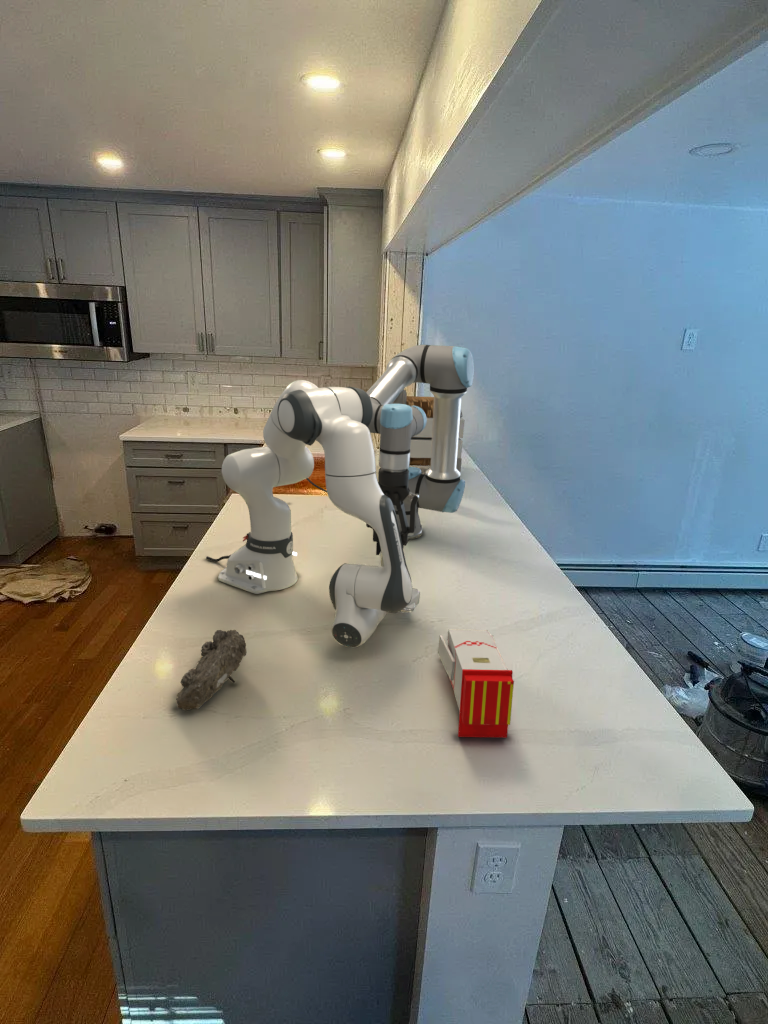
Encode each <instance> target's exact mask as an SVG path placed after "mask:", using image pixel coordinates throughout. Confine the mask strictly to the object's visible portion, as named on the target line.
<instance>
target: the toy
mask: <svg viewBox="0 0 768 1024" xmlns="http://www.w3.org/2000/svg"><path fill="white" fill-rule="evenodd" d="M446 640H447V643H446V641H445V639H444V636H443V635H442V634H439V637H438V646H437V656H438V657H439V659H440V661H441V663H442V666H443V668H444V670H445V672H446V674H447V677H448V679H449V681H450V684H451V687H452V690H453V693H454V697H455V701H456V705H457V708H458V711H459V714H458V715H459V716H458V730H457V731H458V732H457V737H458V738H508V731H509V726H510V725H511V717H512V707H513V697H514V696H513V695H514V684H515V680H514V679H513V673H514V671H513V670H512V669H508V667H507V665H506V662H505V661H504V659H503V658H502V655H501V653H500V651H499V649H498V647H497V643H496V639H495V637H494V635H493V634H491V632H490V631H489V629H467V628H466V629H465V628H463V629H461V628H460V629H459V628H448V630H447V639H446Z"/></svg>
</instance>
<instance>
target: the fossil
mask: <svg viewBox="0 0 768 1024" xmlns="http://www.w3.org/2000/svg"><path fill="white" fill-rule="evenodd" d="M200 655H201V657H200V658H199V660H198V662H197V664H196V666H195V668H191V669H189V670H188V671H187V672H185V673H184V675H183V676H182V677H181V678H180V681H179V682H180V684H181V686H182V689H181V690H180V692H178V693H177V694H176V696H177V698H175V700H176V706H177V708H178V709H181V710H183V711H189V710H195V709H200V708H201V707H202V706H203V705H204V704H205V703H206V702H207V701H208V700H210V699H211V698H212V697H213V696H214V695H215V694H216V693H217V692H218V691H219V690H221V689H222V687H223V685H224V683H225V682H226V681H228V680H230V681H231V683H232V684H235V683H236V680H235V679H234V678H233V677H232V676H231V675H232V673H233V672H235V671H237V670H238V668H239V666H240V665H241V662H242V661H243V659H244V657H245V656H247V642H246V639H245V637H244V635H242V634H240V633H239V631H238V630H237V629H230V630H222V629H217V630H216V631H214V634H213V635H212V641H211V640H208V641H206V642H204V643H203V644H202V646H201V649H200Z"/></svg>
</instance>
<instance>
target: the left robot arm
mask: <svg viewBox="0 0 768 1024" xmlns="http://www.w3.org/2000/svg"><path fill="white" fill-rule="evenodd" d="M366 392H367V391H365V390H364V389H362V388H359V387H355V386H344V387H342V386H323V387H318V386H317V384H314V383H313V382H311V381H308V380H305V379H297V380H294V381H292V382H290V383H289V384H288V385H287V386H286V387H285V389H284V390H283V391H282V392H281V394H280V395H279V397H278V398H277V400H276V402H275V404H274V406H273V407H272V410H271V411H270V413H269V416H268V418H267V421H266V422H265V425H264V426H263V431H262V438H263V441H264V443H265V445H266V446H260V447H252V448H245V449H241V450H238V451H235V452H232V453H230V454H228V455H226V456H225V458H224V459H223V461H222V465H221V477H222V480H223V481H224V484H225V485H226V486H227V487H228V488H229V489H230V490H232V491H233V492H235V493H237V494H238V495H239V496H240V497H241V498H242V499H243V501H244V502H245V504H246V506H247V509H248V515H249V524H250V531H249V532H248V533H246V535H245V536H243V537H242V542H245V541H246V543H245V544H244V545H243V546H240V547H239V548H238V549H236V550H235V551H233V552H232V553H231V554H229V555H224V556H220V557H219V558H213V557H210V556H206V557H205V559H206V560H208V561H211V562H214V563H217V562H218V563H219V562H221V561H222V560H225V559H227V561H226V566H225V567H224V568H223V569H222V570H220V572H219V573H218V577H217V578H218V579H217V580H218V581H219V582H222V583H224V584H227V585H230V586H232V587H235V588H238V589H241V590H244V591H246V592H248V593H252V594H255V595H258V594H263V593H267V592H274V591H275V592H276V591H281V590H286V589H288V588H290V587H292V586H294V585H295V584H296V583H297V582H298V579H299V578H298V574H297V571H296V568H295V563H294V557H297V556H298V552H296V551H294V533H293V531H292V510H291V507H290V506H289V503H287V502H286V501H285V500H283V499H281V498H278V497H277V496H276V497H275V496H274V493H273V489H274V488H276V487H282V486H289V485H294V484H297V483H299V482H301V481H304V480H307V479H306V478H308V479H309V478H310V477H311V476H312V474H313V472H314V468H315V459H314V456H313V453H312V452H311V450H310V448H308V446H309V447H311V446H313V444H314V443H315V442H318V443H319V444H320V445H321V447H322V449H323V453H324V477H325V488H326V489H325V490H327V492H326V494H327V495H328V499H329V500H330V502H331V503H332V505H334V506H335V508H337V509H338V510H340V511H341V512H342V513H345V514H346V515H349V516H351V517H354V518H355V519H358V520H360V521H362V522H364V523H365V524H366V523H367V524H368V525H370V526H371V527H372V528H373V529H374V530H375V532H376V533H377V535H378V538H379V542H380V547H381V552H382V557H383V562H384V567H382V566H380V565H370V564H369V565H368V564H363V563H350V562H349V563H346V562H344V563H342V564H341V565H340V566H339V567H337V569H336V570H335V571H334V572H333V575H332V576H331V578H330V580H329V584H328V592H329V593H328V594H329V599H330V603H331V604H332V607H333V609H334V611H335V614H334V619H333V622H332V625H331V634H332V637H333V639H334V640H335V641H336V642H337V643H338V644H340V645H341V646H344V647H347V648H357V647H360V646H362V645H363V644H365V643H366V642H367V641H368V640H369V639H370V638H371V636H372V635H373V634H374V632H375V631H376V630H377V627H378V625H379V624H380V623H381V622H382V621H383V620H384V618H385V616H386V615H387V613H392V614H397V613H399V612H400V613H407V614H408V613H410V612H413V611H415V609H416V608H417V606H418V605H419V603H420V598H421V592H420V590H419V589H418V588H415V587H413V582H412V576H411V575H410V571H409V568H408V565H407V561H406V557H405V551H404V548H403V546H402V541H401V536H400V531H399V526H398V521H397V517H396V513H395V509H394V506H393V503H392V501H391V499H390V498H389V497H387V496H385V495H384V493H383V492H382V490H381V488H380V486H379V484H378V477H377V463H376V454H375V447H374V442H373V438H372V433H370V431H369V429H368V426H369V424H370V422H371V420H372V415H373V407H372V403H371V400H370V397H369V396H368V394H367V393H366ZM372 528H371V529H372ZM373 529H372V530H373ZM381 552H380V553H381ZM293 556H294V557H293Z"/></svg>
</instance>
